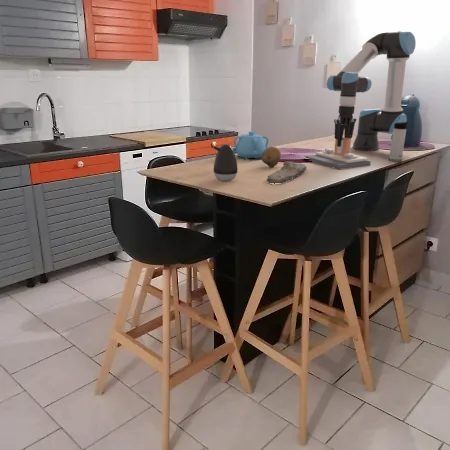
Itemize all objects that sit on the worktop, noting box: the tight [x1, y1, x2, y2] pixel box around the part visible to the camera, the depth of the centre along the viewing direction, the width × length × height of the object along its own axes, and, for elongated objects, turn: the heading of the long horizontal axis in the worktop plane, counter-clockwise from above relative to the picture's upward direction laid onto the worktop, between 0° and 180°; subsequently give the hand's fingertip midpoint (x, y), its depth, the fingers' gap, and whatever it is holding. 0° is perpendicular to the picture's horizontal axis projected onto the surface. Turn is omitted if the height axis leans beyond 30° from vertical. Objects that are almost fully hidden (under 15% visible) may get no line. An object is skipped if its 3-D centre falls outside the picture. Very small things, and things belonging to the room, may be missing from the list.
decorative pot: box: [232, 131, 270, 160], centre depth 230 cm, size 16×16×14 cm
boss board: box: [303, 148, 372, 170], centre depth 223 cm, size 22×25×5 cm
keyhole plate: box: [315, 136, 369, 163], centre depth 223 cm, size 14×23×10 cm, turn 31°
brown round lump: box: [261, 146, 282, 168], centre depth 208 cm, size 9×9×10 cm
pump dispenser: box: [212, 143, 238, 182], centre depth 183 cm, size 10×10×15 cm
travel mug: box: [388, 121, 409, 162], centre depth 228 cm, size 6×7×20 cm
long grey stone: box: [266, 160, 307, 184], centre depth 193 cm, size 35×5×10 cm
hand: (341, 152), depth 224 cm, fingers closed on keyhole plate, 3 cm apart
